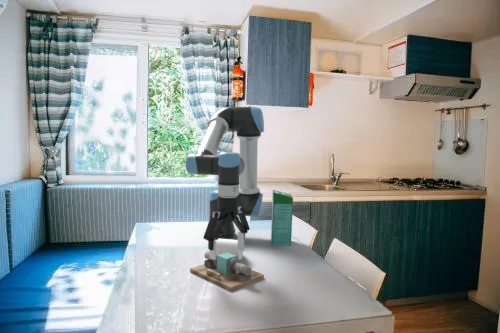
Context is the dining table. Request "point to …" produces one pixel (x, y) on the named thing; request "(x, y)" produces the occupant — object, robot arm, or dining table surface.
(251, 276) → the shaft board
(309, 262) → the dining table surface
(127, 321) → the dining table surface
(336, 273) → the dining table surface
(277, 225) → the milk carton
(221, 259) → the block
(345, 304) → the dining table surface
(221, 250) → the mug
